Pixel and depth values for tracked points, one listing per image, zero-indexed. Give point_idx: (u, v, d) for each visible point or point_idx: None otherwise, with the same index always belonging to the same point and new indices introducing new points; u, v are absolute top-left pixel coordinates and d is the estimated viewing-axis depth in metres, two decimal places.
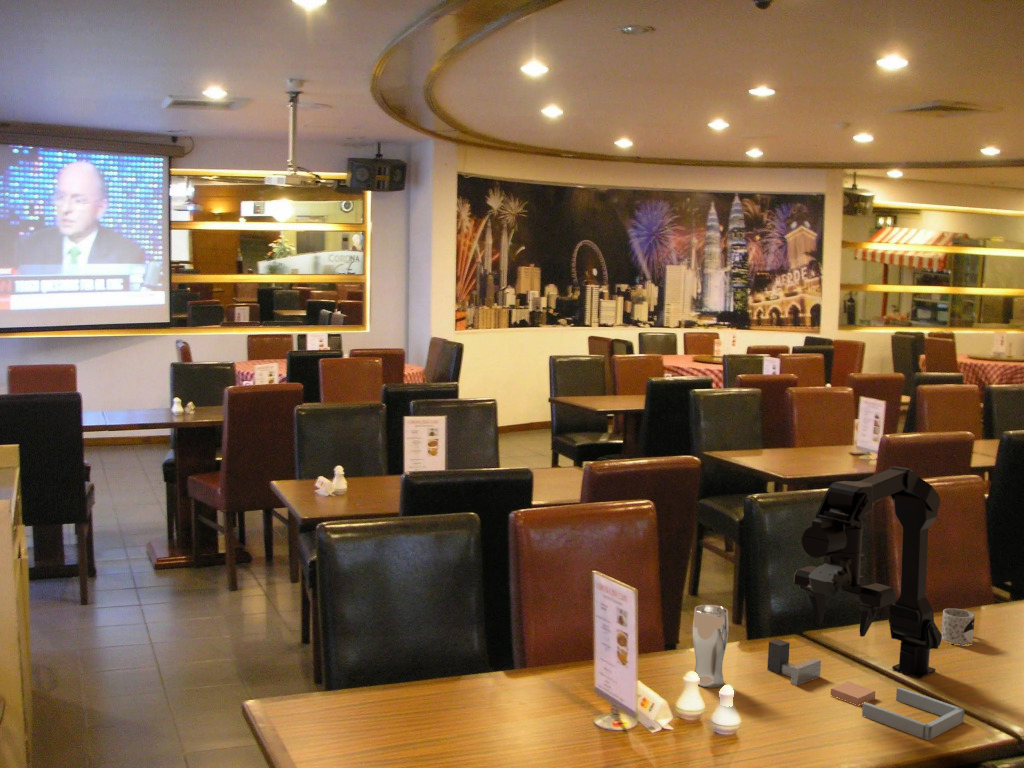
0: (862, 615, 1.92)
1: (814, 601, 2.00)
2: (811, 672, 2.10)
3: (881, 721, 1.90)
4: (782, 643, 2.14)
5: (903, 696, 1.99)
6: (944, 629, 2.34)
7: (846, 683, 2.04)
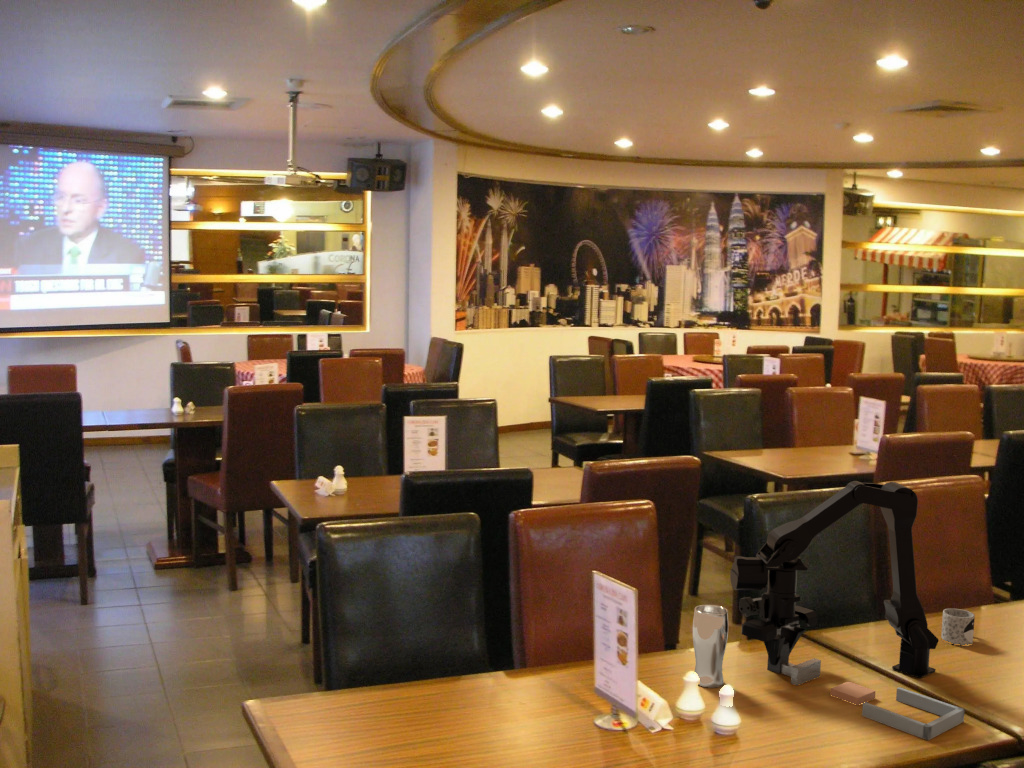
0: None
1: None
2: (811, 672, 2.10)
3: (881, 721, 1.90)
4: None
5: (903, 696, 1.99)
6: (944, 629, 2.34)
7: (846, 683, 2.04)
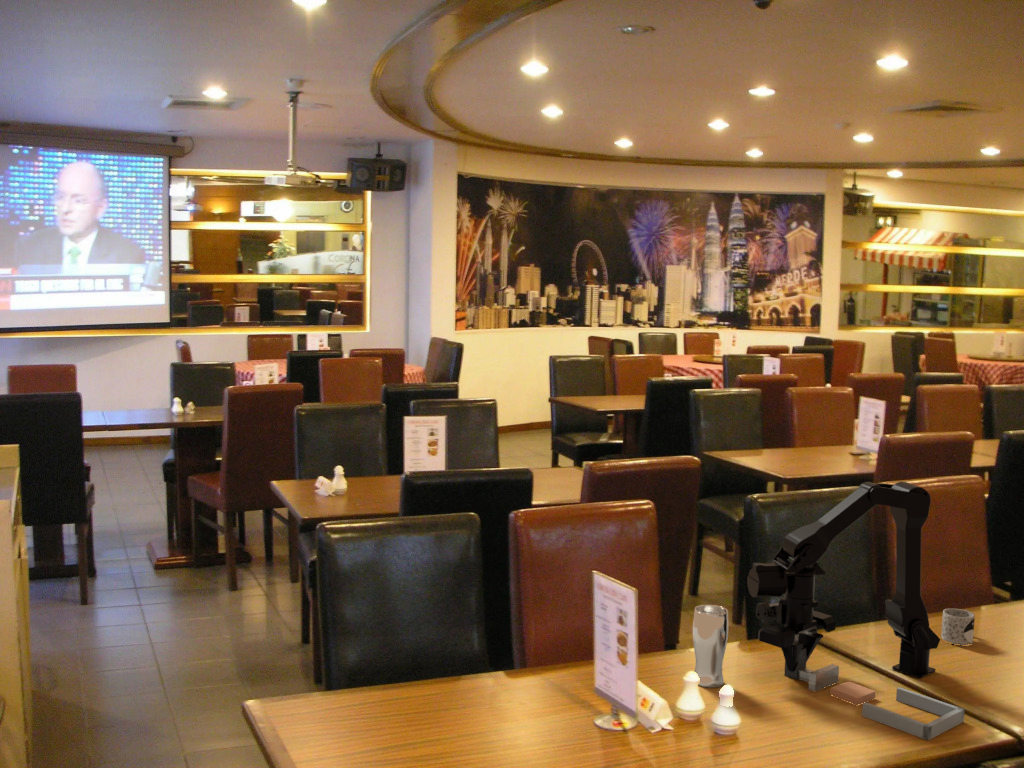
0: None
1: None
2: (829, 678, 2.06)
3: (881, 721, 1.90)
4: None
5: (903, 696, 1.99)
6: (944, 629, 2.34)
7: (847, 683, 2.04)
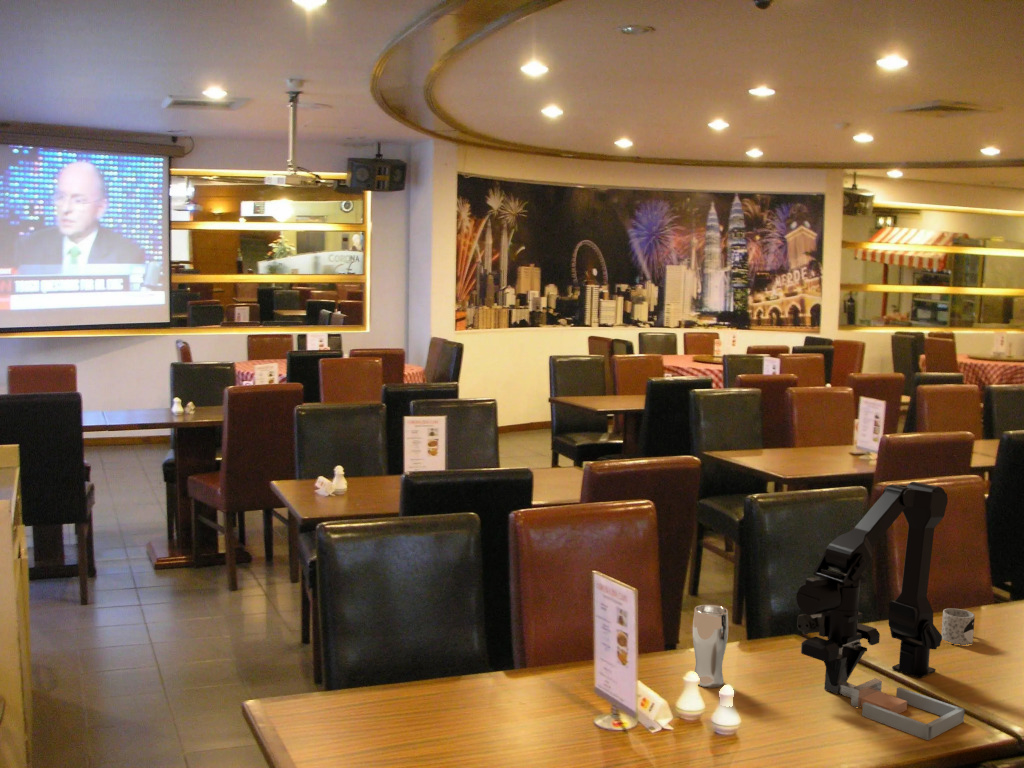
0: None
1: None
2: None
3: (881, 721, 1.90)
4: None
5: (903, 696, 1.99)
6: (944, 629, 2.34)
7: (876, 693, 1.99)
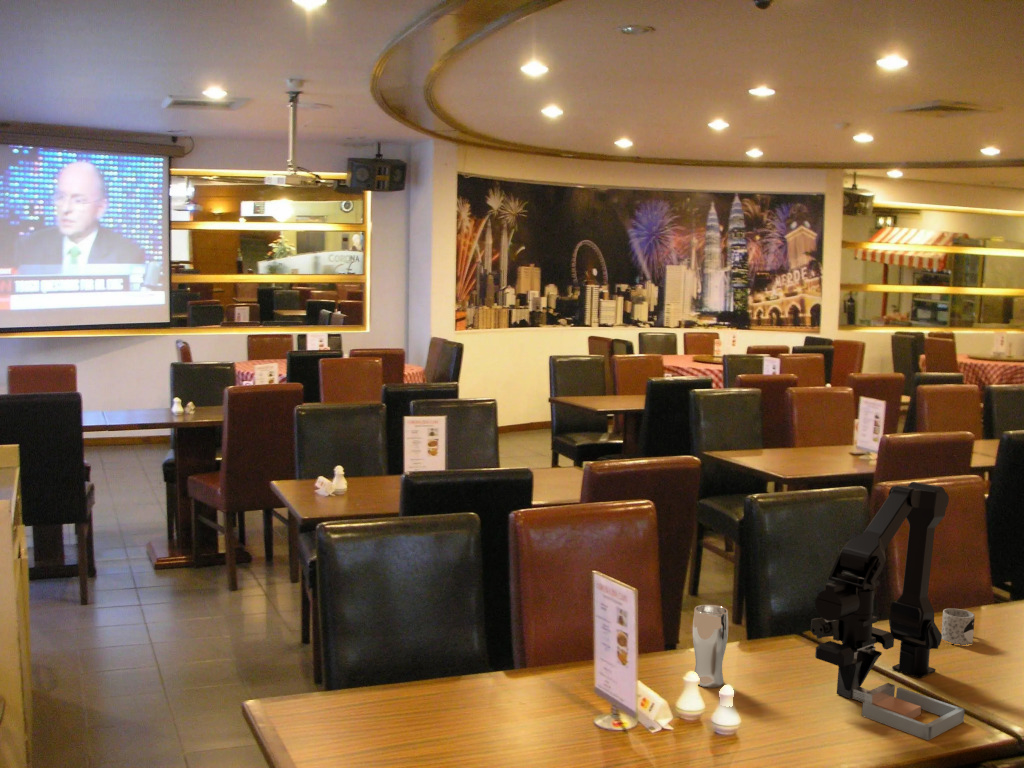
0: None
1: None
2: (885, 698, 1.97)
3: (881, 721, 1.90)
4: None
5: (903, 696, 1.99)
6: (944, 629, 2.34)
7: (890, 698, 1.97)
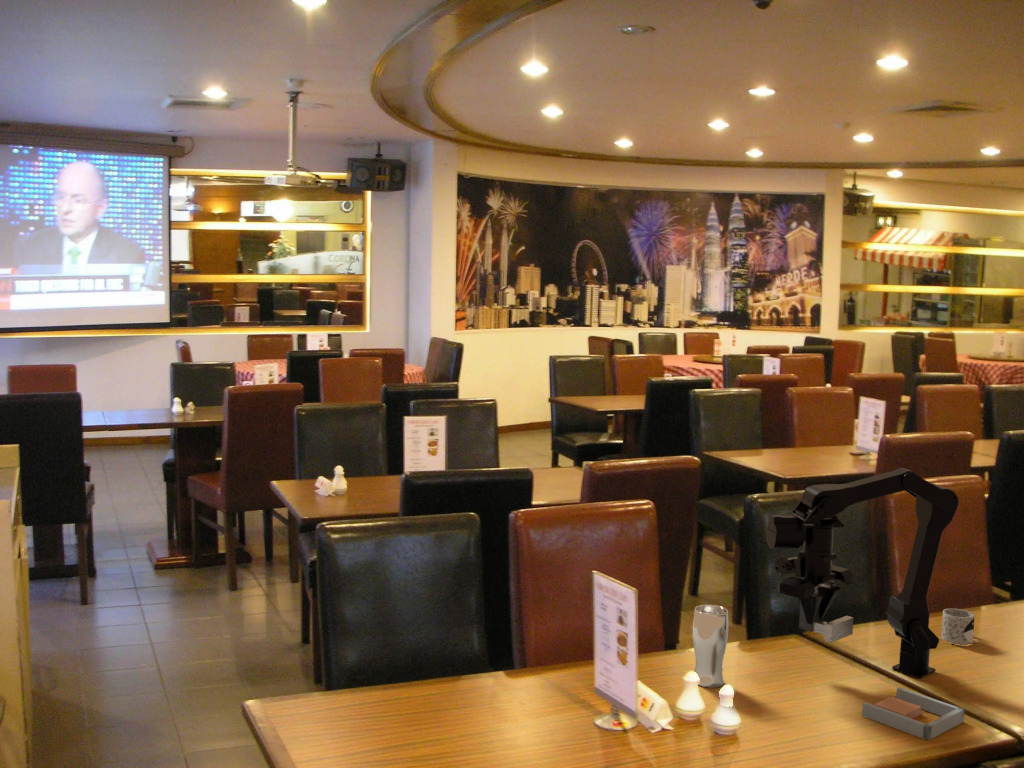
0: None
1: None
2: (844, 629, 2.08)
3: (881, 721, 1.90)
4: None
5: (903, 696, 1.99)
6: (944, 629, 2.34)
7: (890, 698, 1.97)
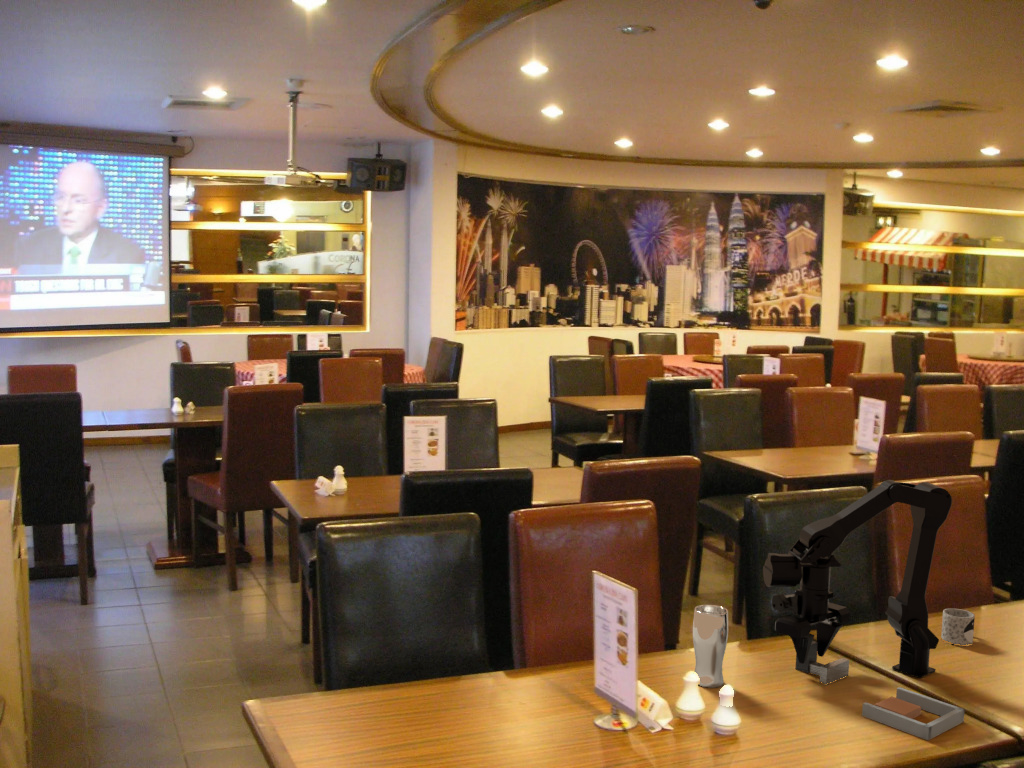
0: None
1: None
2: (840, 672, 2.10)
3: (881, 721, 1.90)
4: None
5: (903, 696, 1.99)
6: (944, 629, 2.34)
7: (890, 698, 1.97)
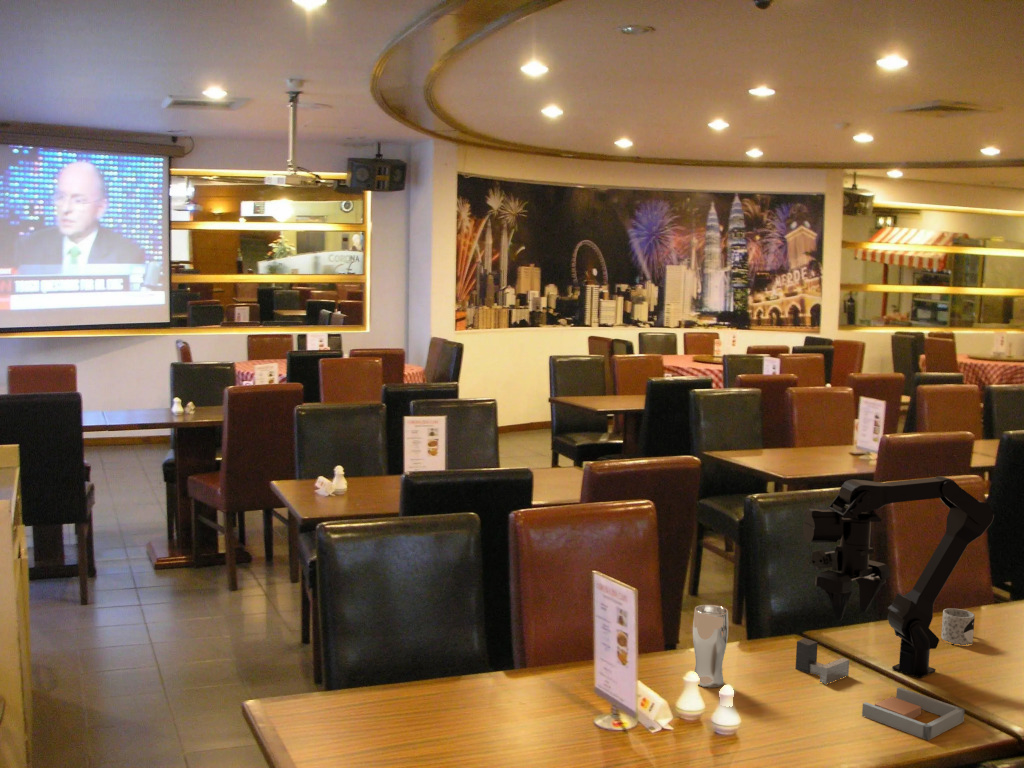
0: None
1: None
2: (840, 672, 2.10)
3: (881, 721, 1.90)
4: (810, 643, 2.14)
5: (903, 696, 1.99)
6: (944, 629, 2.34)
7: (890, 698, 1.97)
